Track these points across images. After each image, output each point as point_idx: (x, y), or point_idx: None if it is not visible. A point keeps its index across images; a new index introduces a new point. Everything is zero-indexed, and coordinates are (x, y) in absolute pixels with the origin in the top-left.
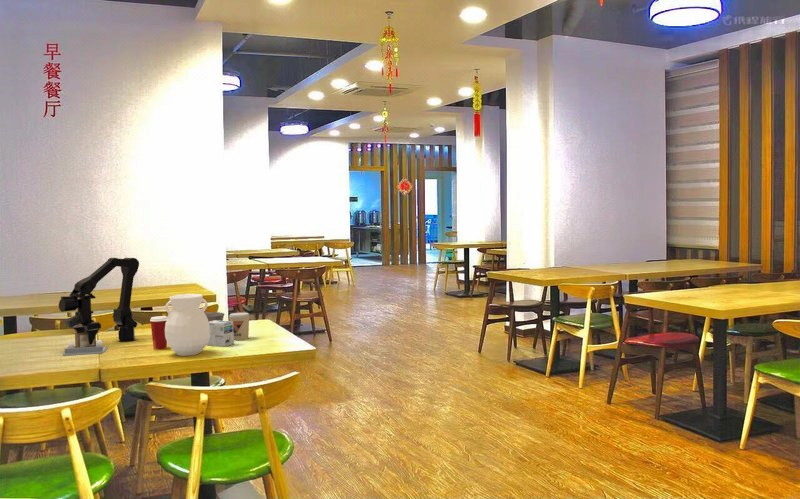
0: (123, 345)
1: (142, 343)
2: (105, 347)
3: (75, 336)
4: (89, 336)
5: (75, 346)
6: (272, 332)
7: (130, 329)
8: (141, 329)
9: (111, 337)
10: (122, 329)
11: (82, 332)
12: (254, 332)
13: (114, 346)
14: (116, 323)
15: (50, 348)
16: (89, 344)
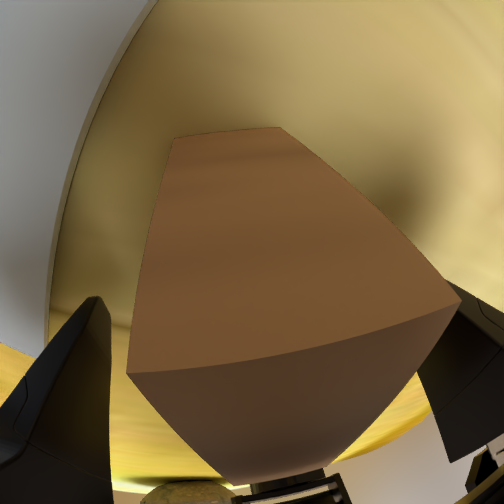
0: (121, 411)
1: (128, 441)
2: (19, 345)
3: (365, 232)
4: (16, 400)
5: (288, 134)
6: (118, 489)
7: (252, 487)
8: (406, 419)
9: (408, 383)
10: (276, 482)
11: (352, 430)
12: (135, 489)
13: (114, 389)
14: (326, 501)
15: (496, 18)
16: (96, 296)
